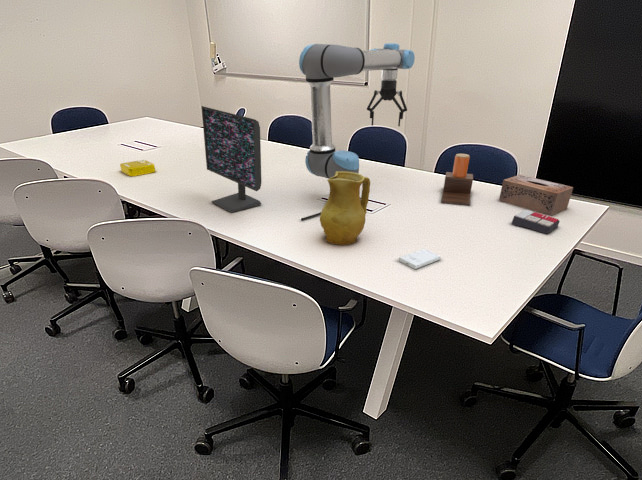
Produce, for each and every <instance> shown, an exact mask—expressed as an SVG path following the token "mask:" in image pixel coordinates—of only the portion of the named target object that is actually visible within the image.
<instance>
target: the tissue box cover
mask: <svg viewBox="0 0 642 480" xmlns="http://www.w3.org/2000/svg"><path fill="white" fill-rule="evenodd" d="M573 191H574V187H573V186H570V185H565V184H562V183H558V182H552V181H548V180H545V179H540V178H536V177H533V176H528V175H522V174H517V175H514V176H512V177H508V178H505V179H503V180H502V184H501V189H500V193H499V198H498V202H501V203H506V204H509V205H512V206H516V207H519V208H523V209H525V210H529V211H532V212H537V213H540V214H543V215H546V216H550V217H553V216H554V215H556V214H559V213H561V212H562V211H565V210H567V209H568V207H569V203H570V201H571V197H572V194H573Z"/></svg>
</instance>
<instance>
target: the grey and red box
mask: <svg viewBox="0 0 642 480" xmlns="http://www.w3.org/2000/svg"><path fill="white" fill-rule="evenodd" d="M560 221H561V220H560V219H559V218H556V217H553V216H550V215H547V214H543V213H540V212H536V211H533V210H529V209H523V210H522V211H521V212H519V213H517V214H515V215H514V216H513V218H512V221H511V225H513V226H516V227H524V228H527V229H530V230H533V231H536V232H539V233H542V234H545V235H548V234H550V233H552V232H553V231H554V230H556V229H557V228H558V227H559V225H560Z"/></svg>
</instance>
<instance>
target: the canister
mask: <svg viewBox="0 0 642 480" xmlns="http://www.w3.org/2000/svg"><path fill="white" fill-rule="evenodd" d="M470 158H471V156H470V154H467V153H456V154H455V155H454V161H453V167H452V172H453V173H452V175H453V176H455V177H466V176H467V174H468V169H469V164H470Z"/></svg>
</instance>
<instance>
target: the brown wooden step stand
mask: <svg viewBox="0 0 642 480" xmlns="http://www.w3.org/2000/svg"><path fill="white" fill-rule="evenodd" d="M452 173H453V171H452V172H451V171H446V172H445V177H444V181H443V182H444V183H443V188H442V189H443V191H442V196H441V202H440V203H441V204H447V205H455V206H456V205H457V206H467V207H470V206H471V193H472V187H473V182H474V174H473V173H467V176H466V177H455V176H453V175H452Z"/></svg>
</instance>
